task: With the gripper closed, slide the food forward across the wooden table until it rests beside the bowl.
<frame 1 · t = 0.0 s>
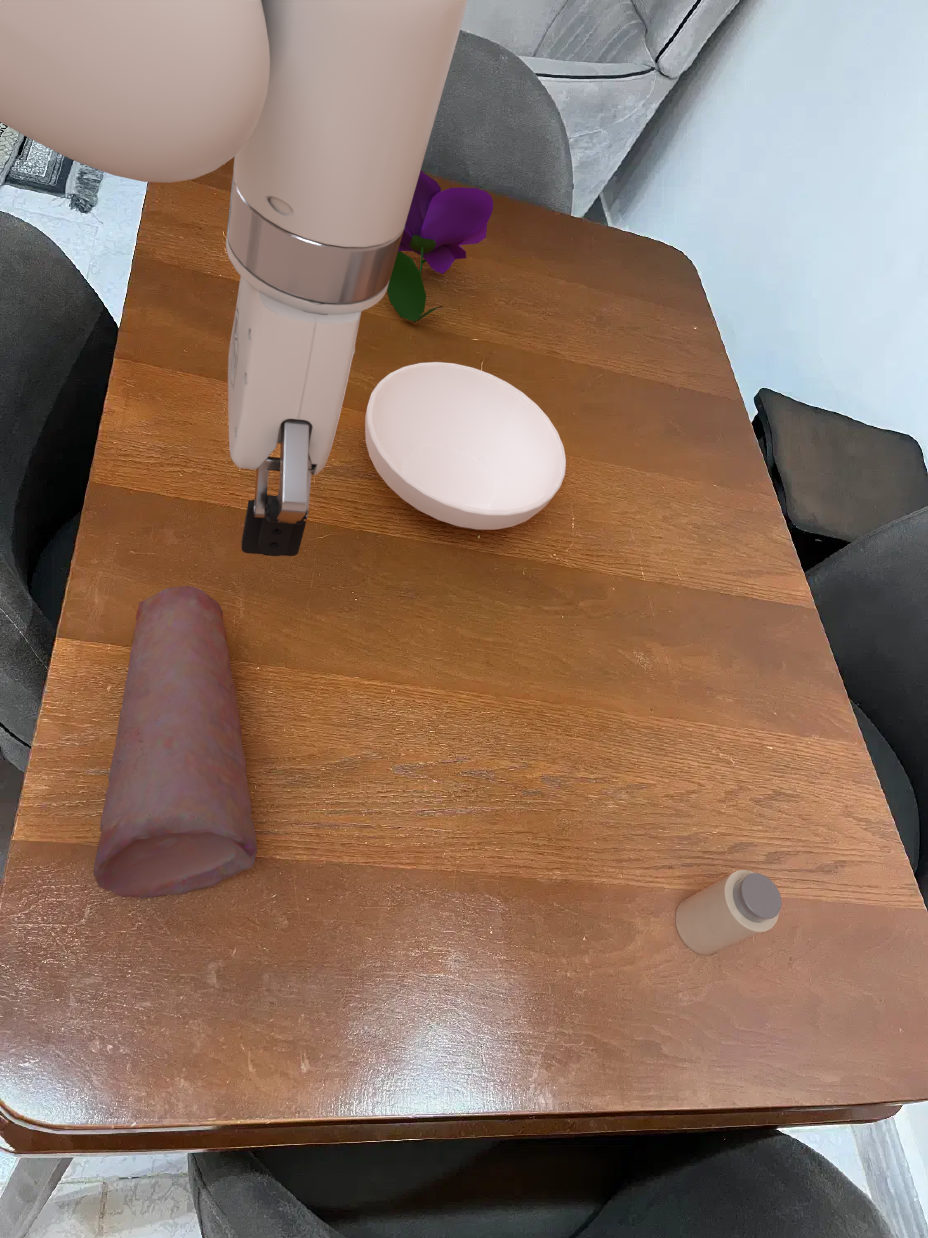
hand: (266, 487, 51), 19 cm above the table, tool pointing down, fingers open, 9 cm apart
food: (188, 751, 60), on the table
flower: (409, 296, 100), on the table
bowl: (446, 486, 84), on the table
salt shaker: (700, 926, 65), on the table
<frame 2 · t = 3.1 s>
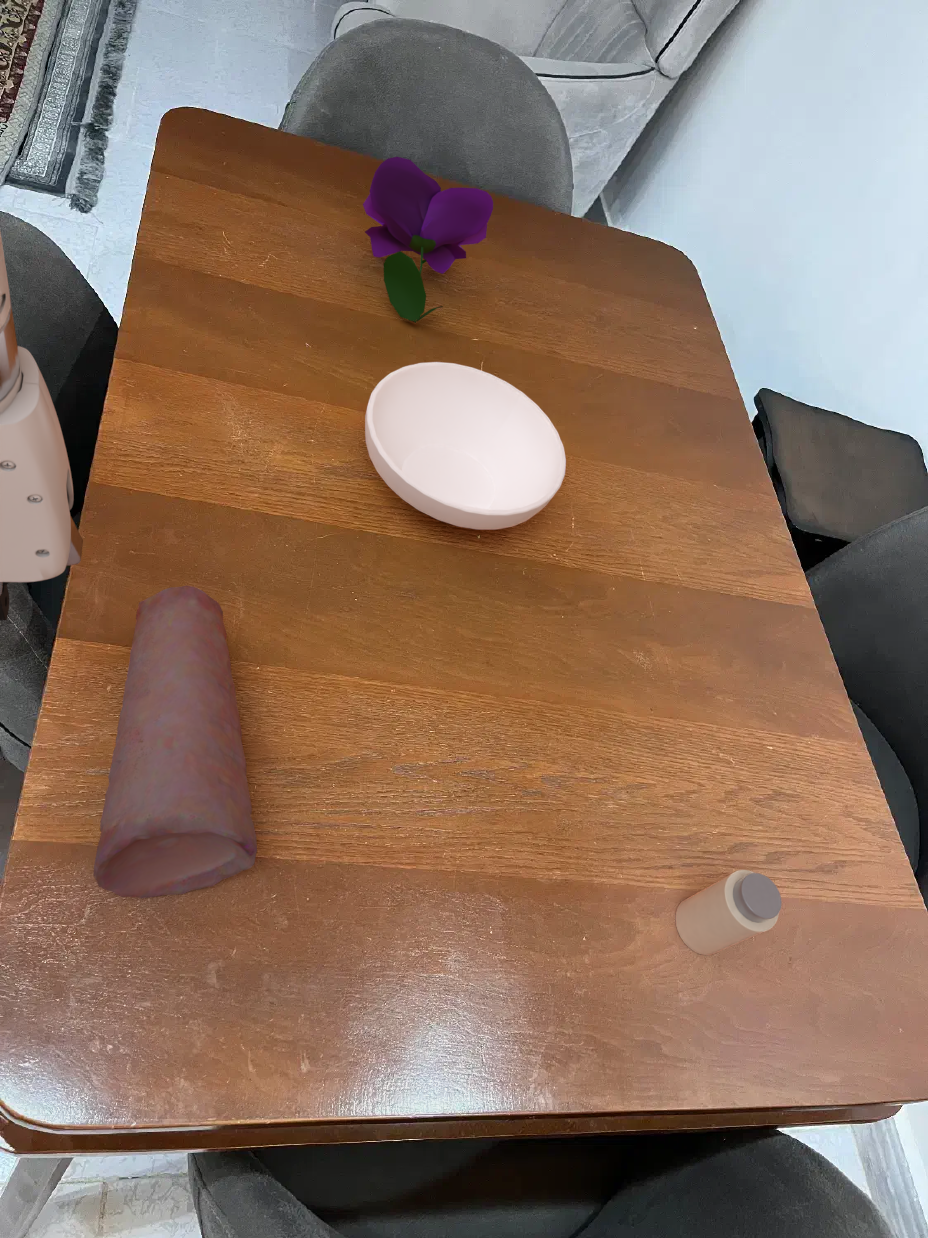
nothing on the table moved.
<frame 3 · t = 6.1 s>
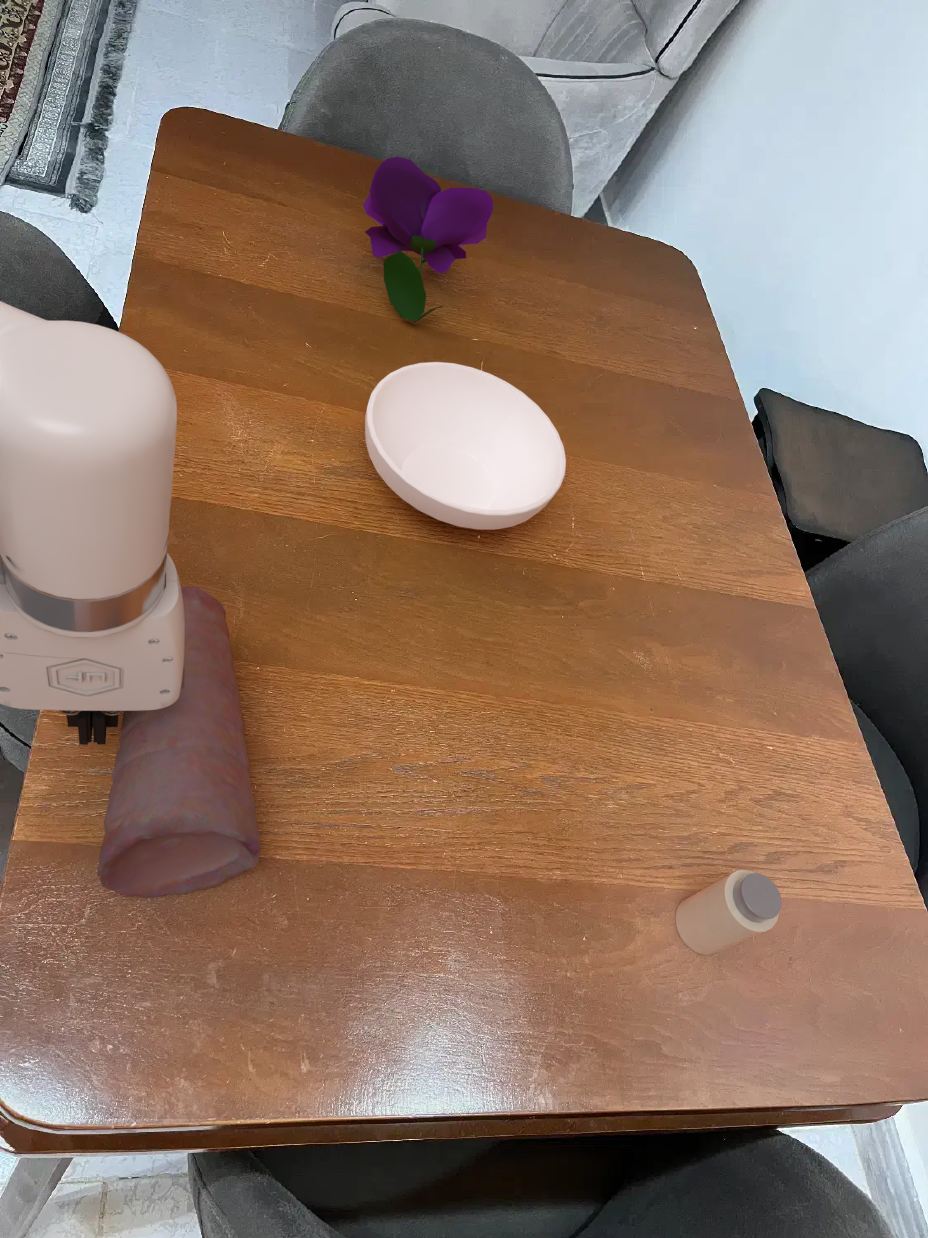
hand: (94, 724, 56), 3 cm above the table, tool pointing down, fingers closed
food: (191, 751, 61), on the table, touching gripper
everything else where it was.
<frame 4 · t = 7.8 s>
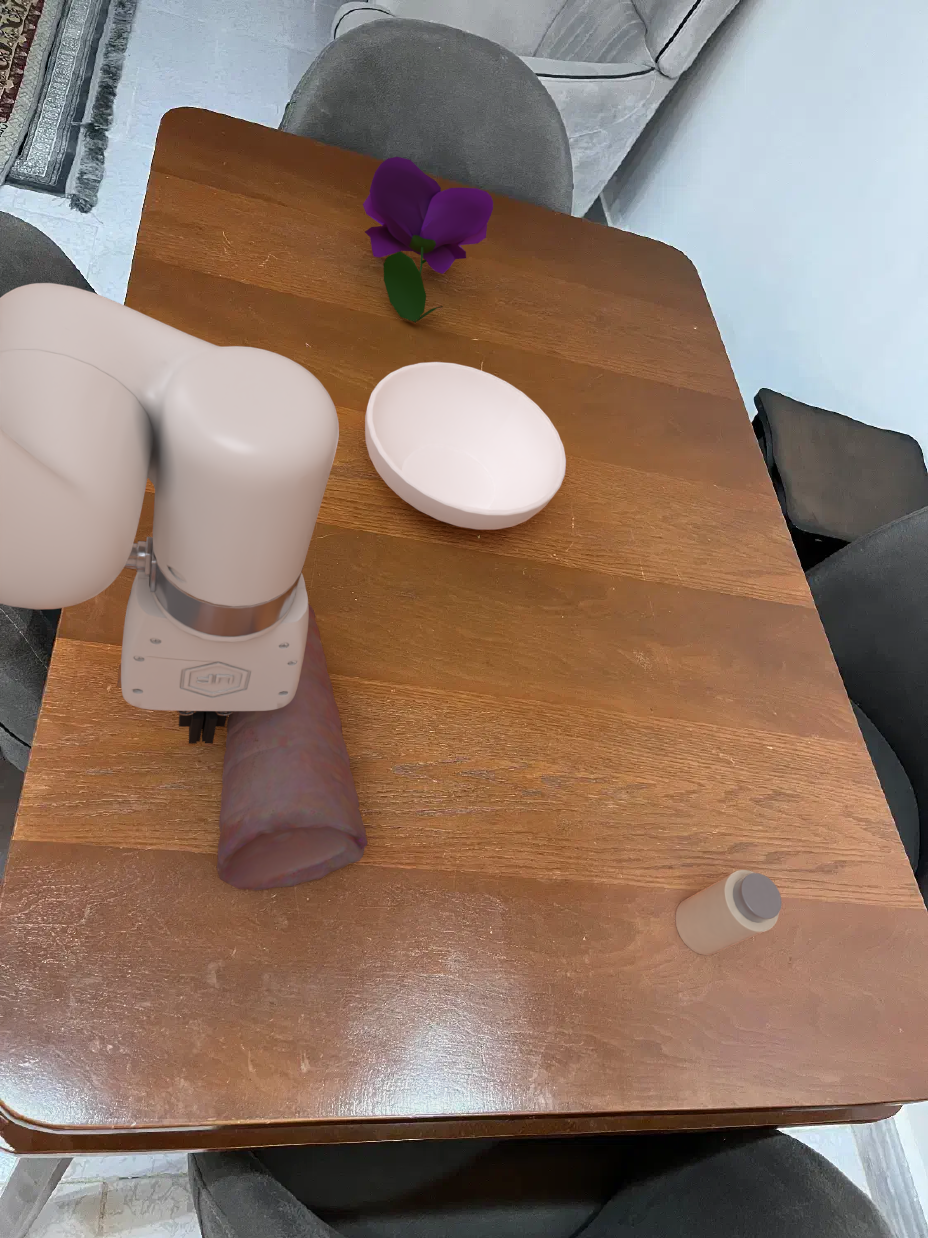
hand: (200, 724, 58), 3 cm above the table, tool pointing down, fingers closed
food: (286, 749, 63), on the table, touching gripper
everything else where it was.
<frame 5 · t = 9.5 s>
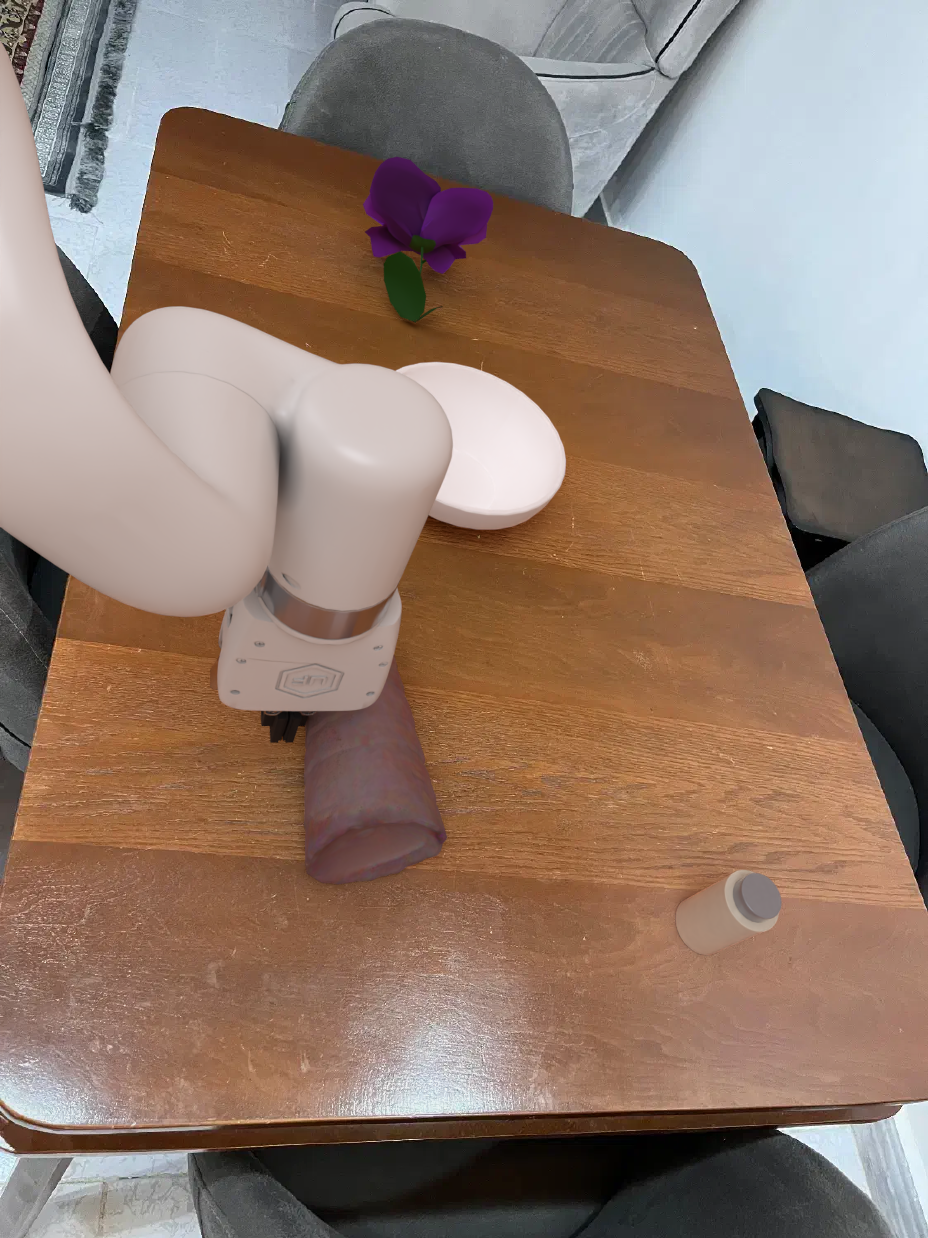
hand: (280, 724, 60), 3 cm above the table, tool pointing down, fingers closed
food: (358, 748, 65), on the table, touching gripper
everything else where it was.
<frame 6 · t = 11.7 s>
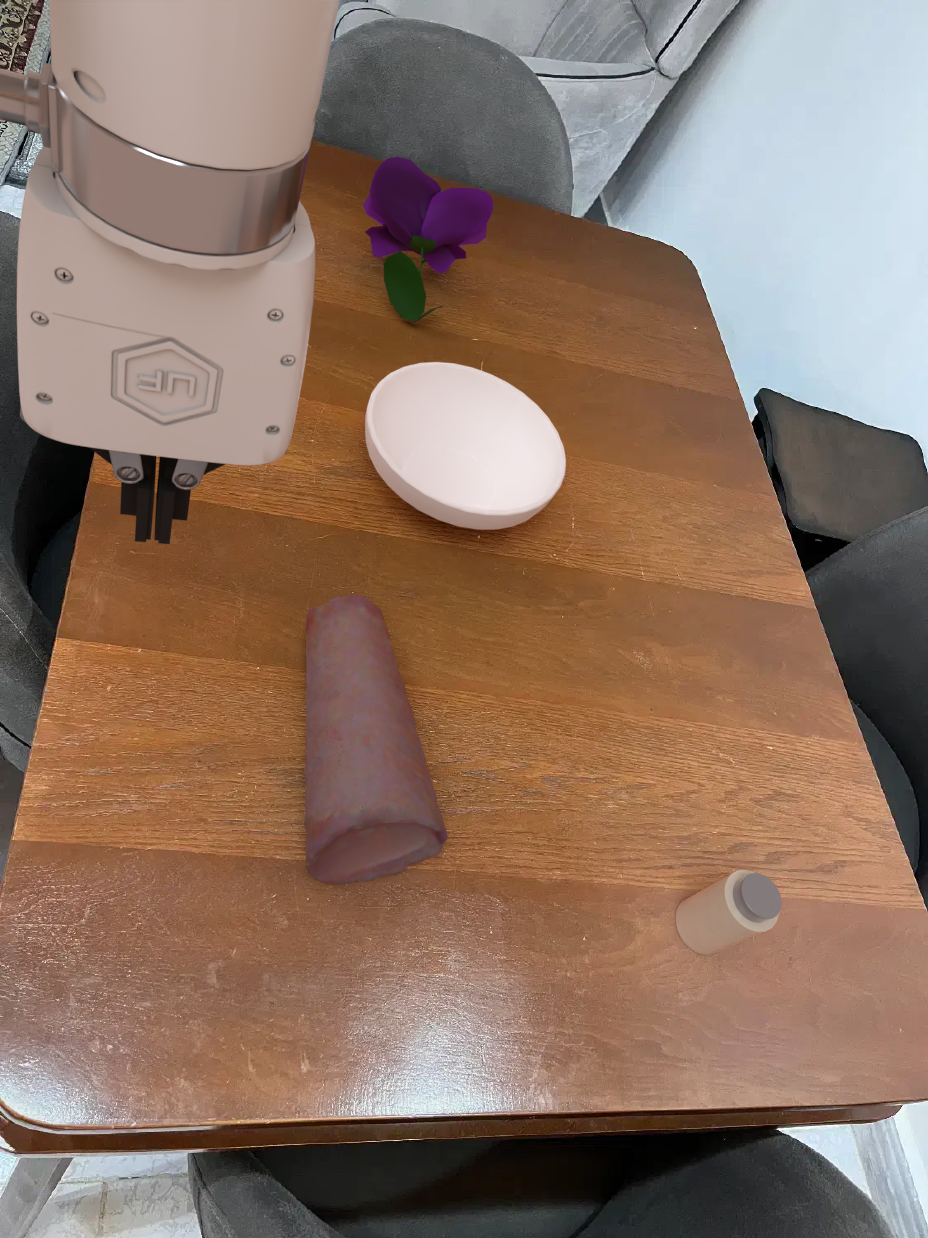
hand: (153, 519, 41), 24 cm above the table, tool pointing down, fingers closed
food: (358, 748, 65), on the table
everything else where it was.
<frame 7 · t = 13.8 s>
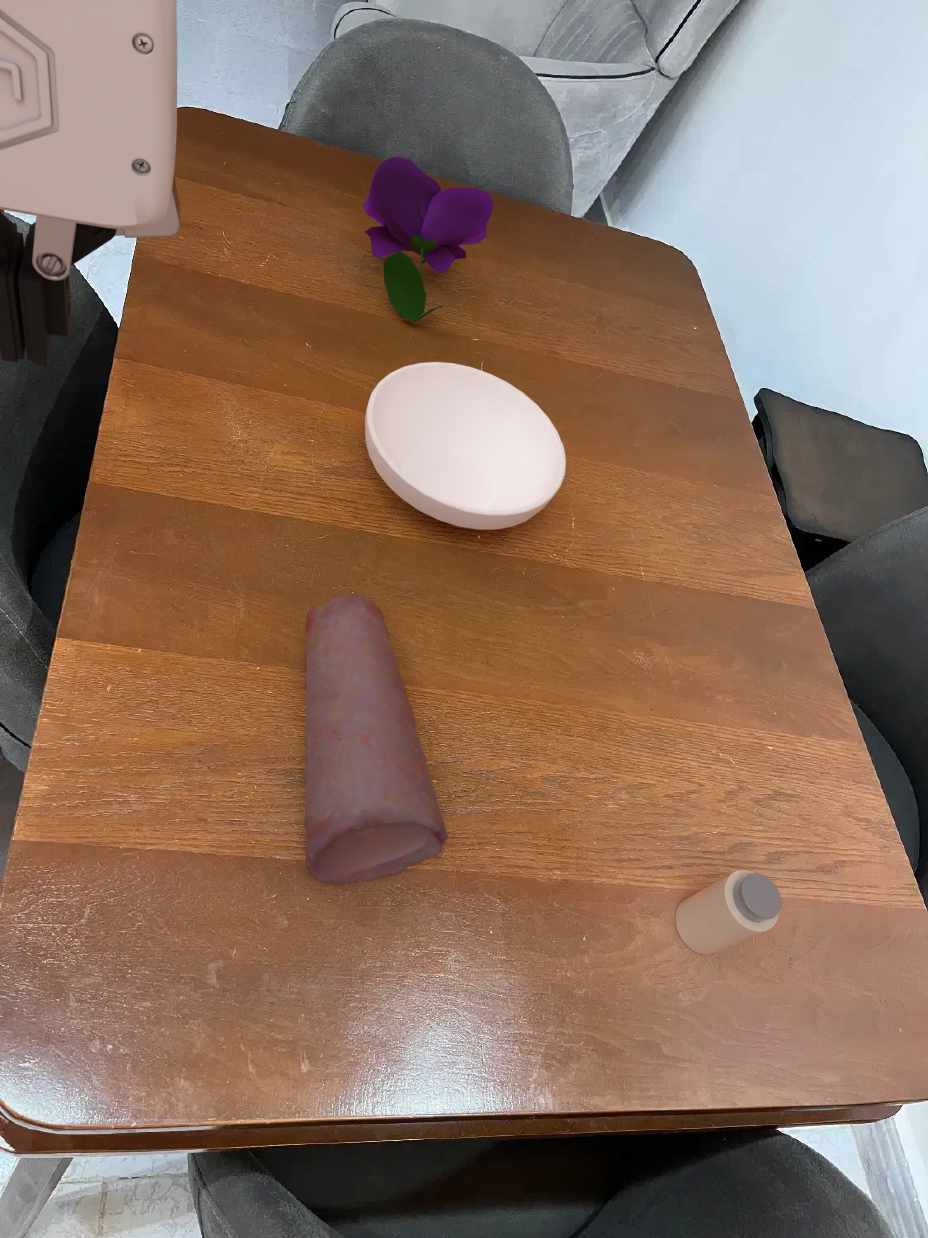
hand: (29, 339, 33), 33 cm above the table, tool pointing down, fingers closed
nothing on the table moved.
at the end: food inside the target area (1.0 cm from its centre), on the table; food 30.8 cm from the bowl (horizontally); food tilted 0° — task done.
